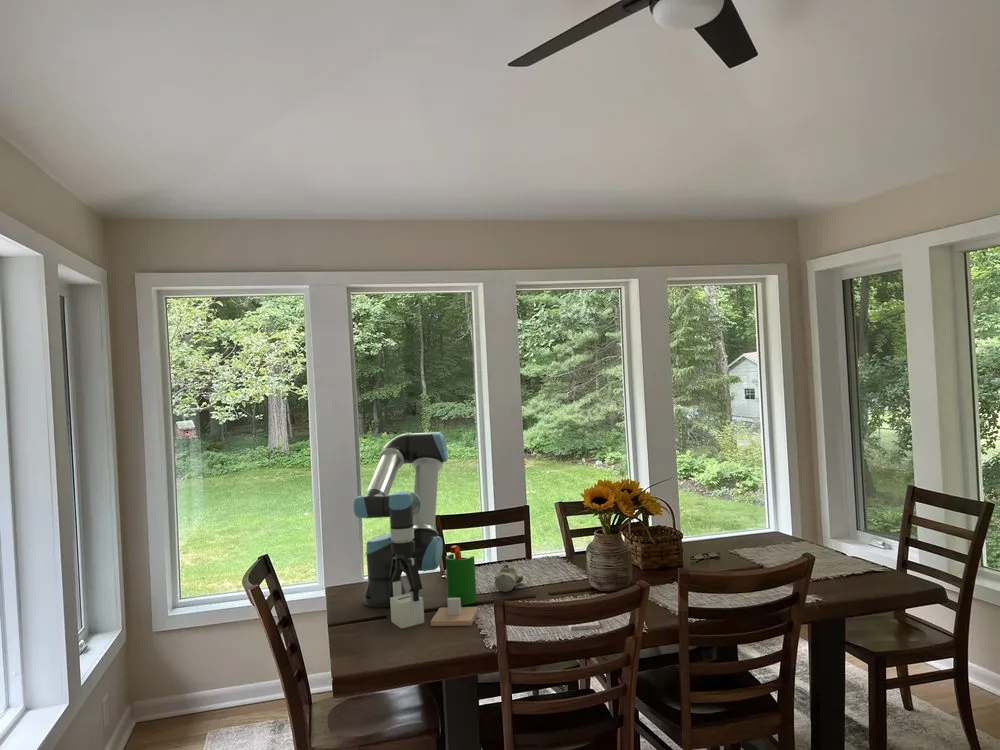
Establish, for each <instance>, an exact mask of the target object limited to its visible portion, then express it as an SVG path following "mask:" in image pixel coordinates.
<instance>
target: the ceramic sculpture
mask: <svg viewBox="0 0 1000 750" xmlns="http://www.w3.org/2000/svg"><path fill="white" fill-rule="evenodd" d="M523 580H524V575H520V576H519V575H518V574H517V572H516V569H515V568H513V567H510V566H509V565H508V564H505V565H504V566H503V567H502V568H501V569H500V570H499V572H498V573H497V575H496V576H495V577H494V584H495V587H496V589H497V590H498V591H500V592H505V593H508V592H510V591H513V589H514V587H515V585H517V584H520V583H521V582H523Z"/></svg>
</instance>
